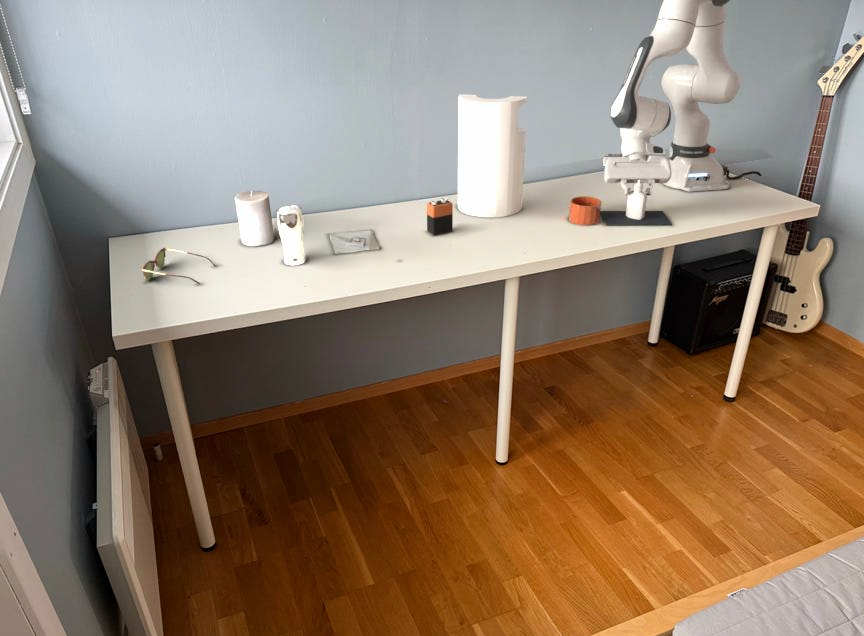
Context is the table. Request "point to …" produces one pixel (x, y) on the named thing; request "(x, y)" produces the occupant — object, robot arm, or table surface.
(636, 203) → the eye dropper bottle
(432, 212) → the battery
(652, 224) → the mat
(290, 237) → the white handheld device
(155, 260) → the sunglasses
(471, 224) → the table surface
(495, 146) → the white curved half cylinder
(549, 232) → the table surface
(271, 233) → the pillar candle
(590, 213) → the cup
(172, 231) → the table surface
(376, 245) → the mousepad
